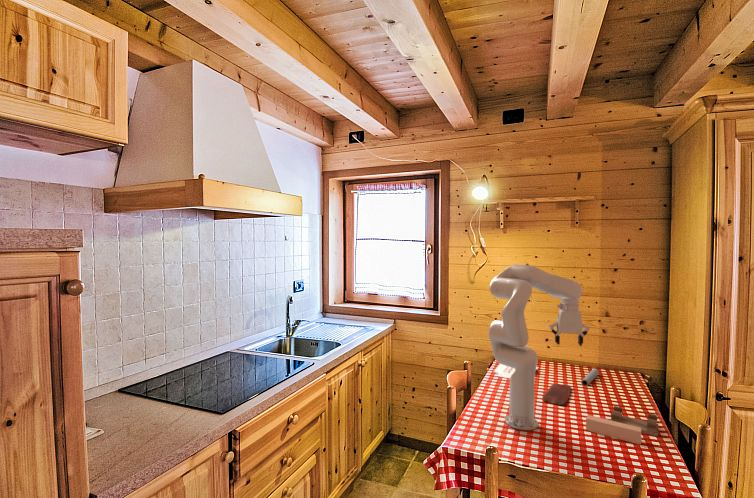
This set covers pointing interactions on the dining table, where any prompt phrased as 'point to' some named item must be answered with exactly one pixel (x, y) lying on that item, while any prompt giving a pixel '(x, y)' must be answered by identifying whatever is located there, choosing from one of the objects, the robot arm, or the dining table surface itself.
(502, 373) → the tray
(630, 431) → the clay strip
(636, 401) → the dining table surface
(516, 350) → the robot arm
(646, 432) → the rack
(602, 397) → the dining table surface
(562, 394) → the wooden tablet
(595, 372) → the grey tube
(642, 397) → the dining table surface
